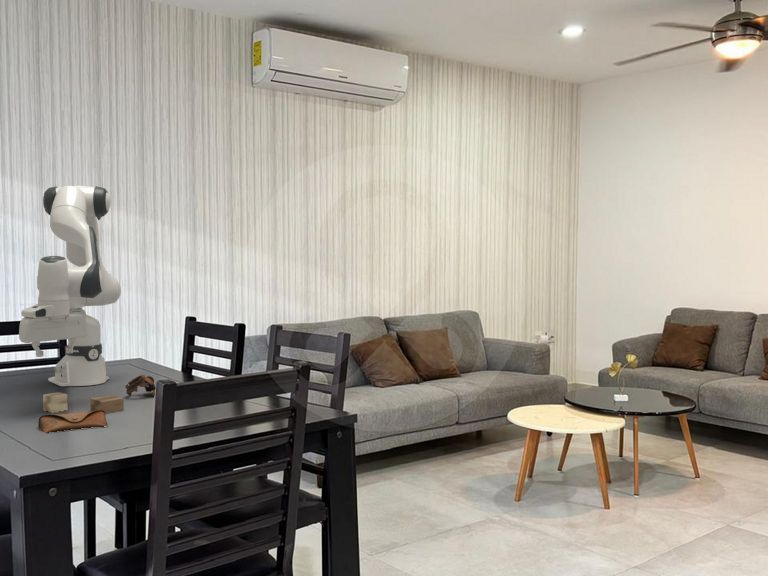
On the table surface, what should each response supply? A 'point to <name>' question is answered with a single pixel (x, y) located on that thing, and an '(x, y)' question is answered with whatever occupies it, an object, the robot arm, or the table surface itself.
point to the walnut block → (107, 403)
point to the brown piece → (141, 384)
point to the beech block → (55, 402)
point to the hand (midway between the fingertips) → (54, 354)
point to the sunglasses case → (72, 421)
